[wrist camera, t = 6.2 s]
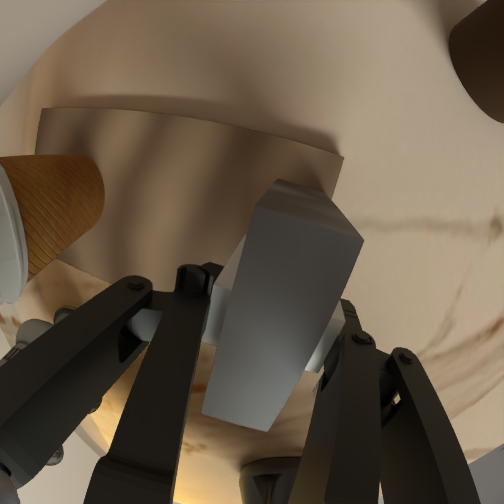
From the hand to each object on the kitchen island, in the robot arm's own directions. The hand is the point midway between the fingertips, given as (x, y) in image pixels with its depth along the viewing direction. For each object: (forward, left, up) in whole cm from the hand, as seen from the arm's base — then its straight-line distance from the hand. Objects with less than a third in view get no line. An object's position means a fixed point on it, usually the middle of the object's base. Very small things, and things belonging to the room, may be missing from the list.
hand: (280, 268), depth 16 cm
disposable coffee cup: (+17, 0, -3) cm, 17 cm away
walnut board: (+11, 0, -3) cm, 12 cm away
